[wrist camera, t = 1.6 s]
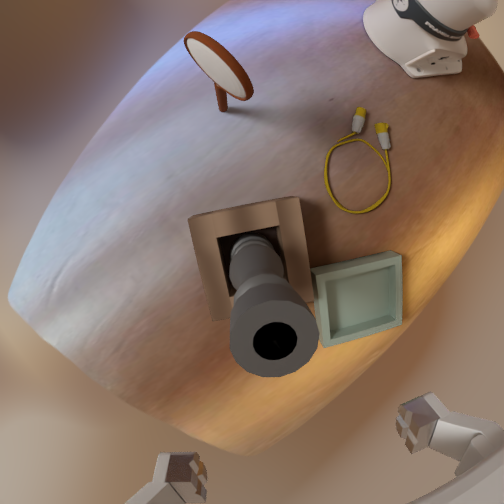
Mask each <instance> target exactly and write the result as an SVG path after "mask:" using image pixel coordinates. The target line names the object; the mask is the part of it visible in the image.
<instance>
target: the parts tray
mask: <svg viewBox="0 0 504 504" xmlns="http://www.w3.org/2000/svg"><path fill="white" fill-rule="evenodd" d="M310 272H311V280H312V287H313V295H314V307H315V315H316V323H317V326H318V330H319V333H320V334H319V340H320V342H321V344H322V346H323V348H326V347H329V346H333V345H337V344H341V343H344V342H348V341H351V340H355V339H358V338H362V337H365V336H368V335H371V334H375V333H378V332H381V331H384V330H387V329H390V328H393V327H396V326H399V325H402V255H400V254H398V253H395V252H393V251H391V250H390V251H386V252H382V253H377V254H373V255H369V256H364V257H360V258H356V259H351V260H347V261H342V262H338V263H333V264H329V265H324V266H320V267H315V268H311V269H310Z"/></svg>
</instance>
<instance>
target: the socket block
mask: <svg viewBox="0 0 504 504" xmlns="http://www.w3.org/2000/svg"><path fill="white" fill-rule="evenodd" d="M188 223H189V228H190V232H191V237H192V241H193V245H194V250H195V254H196V258H197V262H198V267H199V271H200V275H201V279H202V283H203V287H204V291H205V295H206V299H207V302H208V306H209V310H210V314H211V318H212V321H218V320H224V319H229V318H230V316H231V311H232V309H233V305H234V295H235V293H236V291H237V290H236V289H235V288H234V287H233V285H230V283H229V278H228V274H227V269H226V265H225V260H224V256H223V251H222V247H221V242H220V237H222V236H227V235H232V234H237V233H242V232H247V231H252V230H257V229H262V228H267V227H273V226H275V228H276V234H277V239H278V245H279V251H280V257H281V261H282V264H283V267H284V273H283V278H285V279H286V281H287V282H288V283H289V284H290V285H291V286H292V287H293V289H294V290H295V291H296V292H297V293H298V294H299V295H300V297H301V298H302V299H303V300H304V301H305V303H307V302H311V301H314V295H313V287H312V280H311V272H310V265H309V258H308V251H307V245H306V238H305V232H304V225H303V219H302V213H301V207H300V201H299V197H294V196H289V197H283V198H278V199H272V200H267V201H262V202H256V203H251V204H246V205H241V206H236V207H231V208H226V209H221V210H216V211H212V212H207V213H202V214H197V215H193V216H192V217H190V218H189V219H188Z"/></svg>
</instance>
